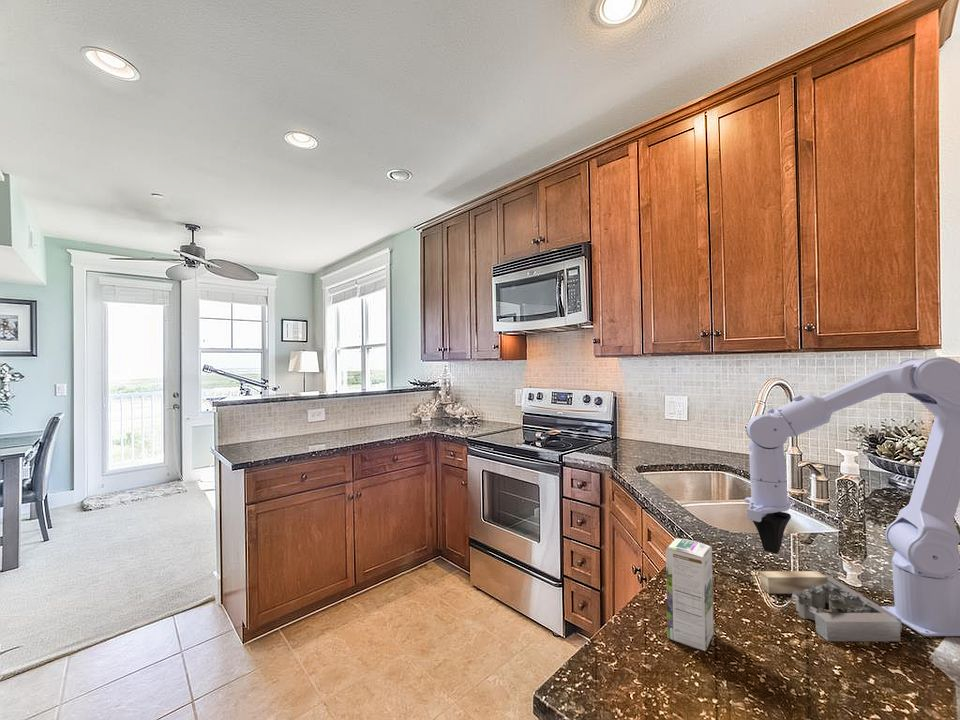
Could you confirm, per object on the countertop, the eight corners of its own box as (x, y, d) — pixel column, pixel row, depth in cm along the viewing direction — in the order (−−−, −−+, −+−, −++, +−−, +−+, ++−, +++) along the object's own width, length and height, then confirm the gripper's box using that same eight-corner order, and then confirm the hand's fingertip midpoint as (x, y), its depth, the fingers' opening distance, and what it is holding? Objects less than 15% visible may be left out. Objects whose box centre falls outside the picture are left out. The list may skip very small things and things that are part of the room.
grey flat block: (827, 584, 84) (826, 569, 84) (917, 641, 66) (916, 621, 66) (757, 584, 85) (756, 569, 85) (827, 641, 67) (826, 621, 67)
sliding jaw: (818, 586, 83) (817, 571, 84) (828, 593, 81) (827, 577, 81) (760, 586, 84) (760, 571, 84) (768, 593, 81) (768, 577, 81)
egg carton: (832, 635, 69) (831, 609, 69) (786, 611, 76) (785, 587, 76) (878, 622, 72) (876, 597, 72) (830, 600, 79) (828, 577, 79)
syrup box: (676, 622, 73) (673, 536, 73) (715, 635, 69) (712, 544, 70) (667, 639, 68) (663, 547, 69) (708, 653, 65) (704, 556, 65)
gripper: (760, 469, 89) (763, 536, 88) (728, 481, 80) (731, 554, 80) (801, 475, 83) (804, 546, 82) (771, 488, 74) (774, 568, 74)
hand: (771, 551), depth 81 cm, fingers closed
